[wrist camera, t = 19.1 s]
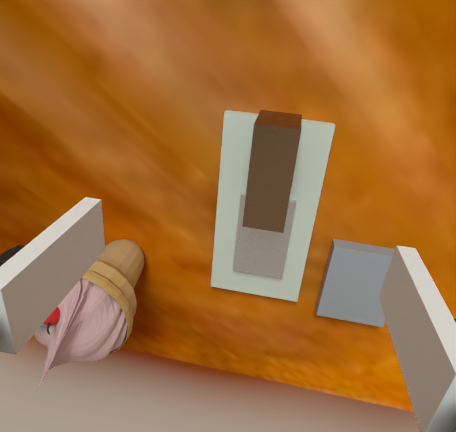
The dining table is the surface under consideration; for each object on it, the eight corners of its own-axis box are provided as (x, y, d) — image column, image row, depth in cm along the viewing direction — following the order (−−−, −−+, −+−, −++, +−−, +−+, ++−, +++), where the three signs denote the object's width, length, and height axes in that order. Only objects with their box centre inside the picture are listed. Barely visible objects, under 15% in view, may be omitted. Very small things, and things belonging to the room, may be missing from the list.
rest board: (212, 280, 49) (210, 286, 48) (226, 109, 39) (224, 112, 38) (297, 295, 48) (297, 301, 47) (334, 123, 37) (335, 126, 36)
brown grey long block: (250, 108, 37) (242, 122, 32) (311, 116, 36) (313, 131, 31) (233, 266, 46) (224, 297, 41) (282, 274, 45) (280, 307, 40)
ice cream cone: (82, 267, 52) (-31, 390, 34) (98, 202, 47) (-25, 308, 29) (155, 298, 52) (79, 437, 34) (179, 238, 47) (104, 364, 29)
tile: (332, 237, 44) (315, 303, 48) (334, 246, 42) (316, 315, 46) (404, 248, 43) (379, 315, 47) (408, 258, 41) (382, 327, 45)
